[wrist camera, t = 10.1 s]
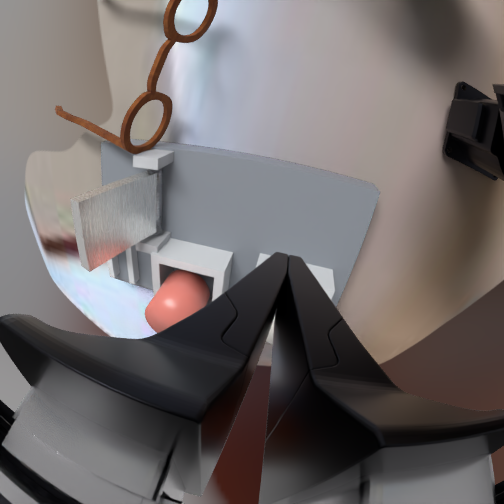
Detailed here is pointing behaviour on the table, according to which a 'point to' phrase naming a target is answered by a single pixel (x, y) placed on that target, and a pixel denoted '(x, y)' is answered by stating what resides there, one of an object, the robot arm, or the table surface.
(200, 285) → the button red
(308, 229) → the panel
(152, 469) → the robot arm
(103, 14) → the table surface
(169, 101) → the glasses
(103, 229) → the grey rectangular slab
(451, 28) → the table surface
